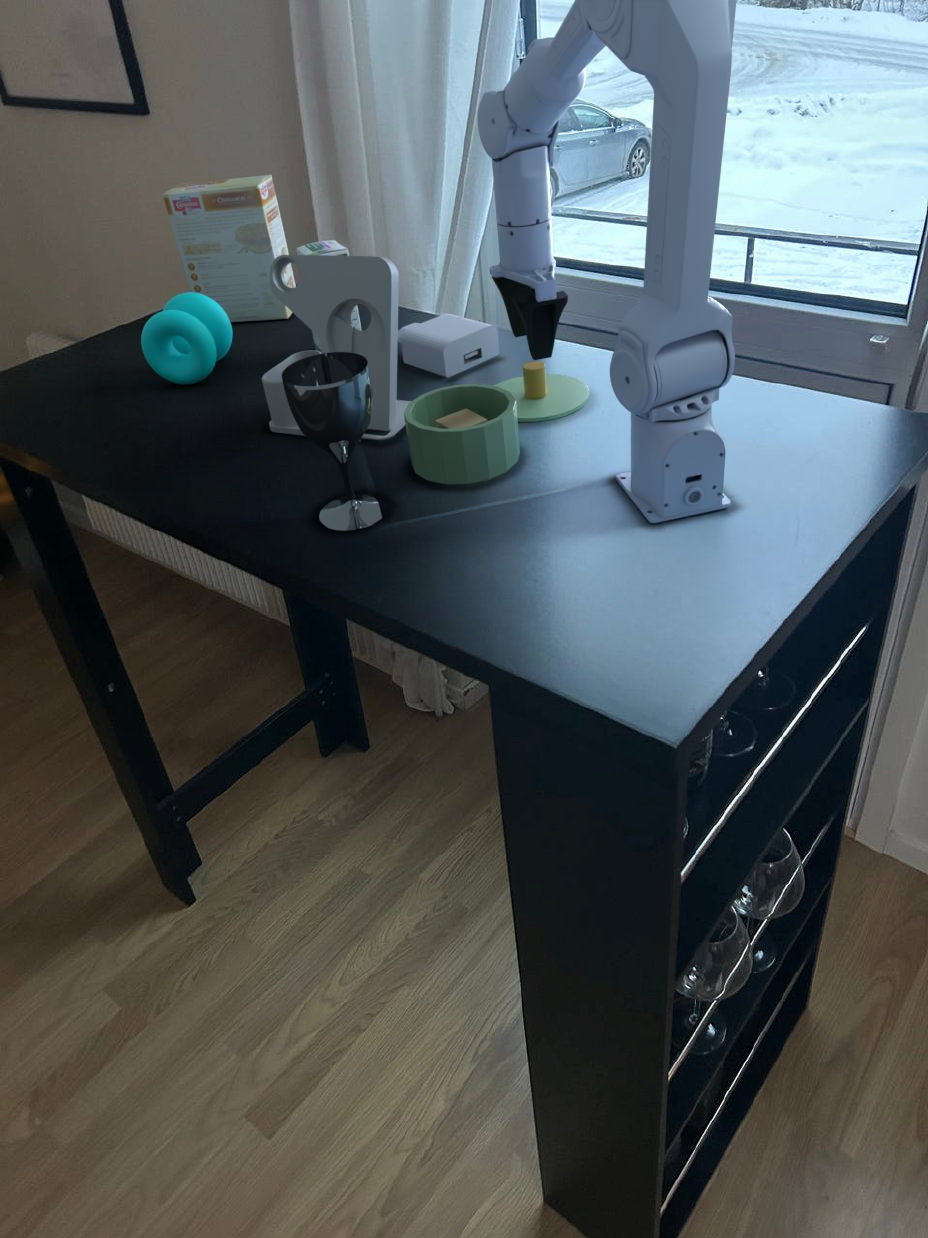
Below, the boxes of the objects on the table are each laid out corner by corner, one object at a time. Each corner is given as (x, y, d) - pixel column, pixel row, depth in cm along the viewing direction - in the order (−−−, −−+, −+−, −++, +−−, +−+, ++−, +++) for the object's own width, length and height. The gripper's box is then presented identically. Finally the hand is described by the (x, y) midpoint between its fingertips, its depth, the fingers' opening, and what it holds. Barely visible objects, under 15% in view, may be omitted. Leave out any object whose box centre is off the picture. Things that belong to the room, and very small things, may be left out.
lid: (604, 413, 104) (603, 374, 101) (498, 435, 103) (494, 395, 100) (570, 374, 114) (568, 337, 111) (473, 393, 113) (469, 356, 110)
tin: (532, 475, 94) (528, 417, 91) (424, 497, 93) (415, 439, 89) (504, 430, 104) (499, 376, 100) (405, 450, 102) (396, 395, 98)
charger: (427, 336, 130) (500, 358, 121) (376, 357, 126) (447, 382, 116) (423, 302, 128) (497, 322, 118) (370, 323, 123) (442, 345, 113)
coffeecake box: (301, 304, 148) (273, 173, 137) (288, 319, 143) (258, 184, 131) (213, 310, 151) (179, 181, 139) (198, 325, 145) (160, 193, 134)
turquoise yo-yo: (243, 357, 132) (224, 286, 126) (221, 385, 124) (200, 311, 118) (177, 361, 133) (156, 292, 127) (151, 390, 125) (127, 317, 119)
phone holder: (263, 430, 111) (223, 278, 100) (308, 396, 118) (276, 250, 107) (388, 445, 104) (360, 283, 93) (429, 407, 111) (407, 252, 100)
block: (491, 458, 98) (487, 419, 95) (460, 471, 96) (455, 431, 93) (470, 446, 100) (466, 407, 98) (439, 458, 99) (434, 419, 96)
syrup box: (315, 353, 130) (292, 246, 121) (354, 343, 131) (335, 237, 123) (327, 365, 125) (305, 256, 117) (368, 355, 127) (348, 245, 118)
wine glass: (354, 485, 97) (326, 346, 88) (409, 503, 92) (386, 359, 84) (298, 519, 92) (263, 377, 83) (354, 540, 88) (323, 392, 79)
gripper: (471, 210, 101) (482, 331, 109) (504, 242, 90) (514, 375, 98) (532, 199, 102) (539, 321, 110) (573, 230, 91) (578, 363, 99)
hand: (532, 346), depth 104 cm, fingers open, 7 cm apart
